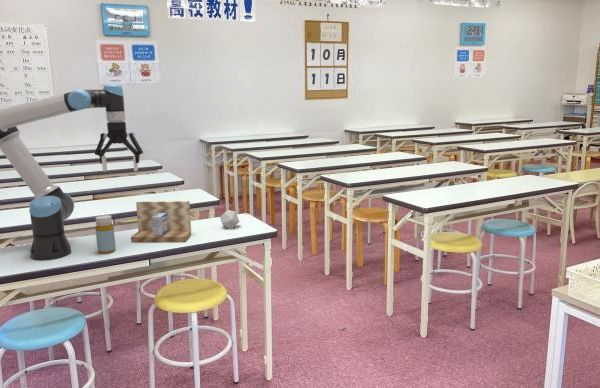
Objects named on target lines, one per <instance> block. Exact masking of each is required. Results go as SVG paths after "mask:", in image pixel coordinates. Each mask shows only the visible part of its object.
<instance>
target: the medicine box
mask: <svg viewBox="0 0 600 388" xmlns="http://www.w3.org/2000/svg"><path fill="white" fill-rule="evenodd" d="M151 219H152V231H153V236H163V235H164V234H165V233H166V232H168V218H167V213H158V214H156V215H155V216H153V217H151Z"/></svg>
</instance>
